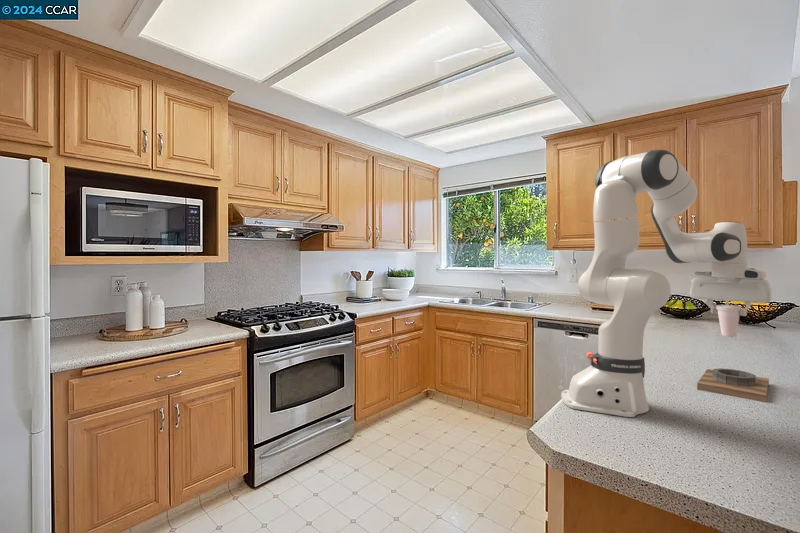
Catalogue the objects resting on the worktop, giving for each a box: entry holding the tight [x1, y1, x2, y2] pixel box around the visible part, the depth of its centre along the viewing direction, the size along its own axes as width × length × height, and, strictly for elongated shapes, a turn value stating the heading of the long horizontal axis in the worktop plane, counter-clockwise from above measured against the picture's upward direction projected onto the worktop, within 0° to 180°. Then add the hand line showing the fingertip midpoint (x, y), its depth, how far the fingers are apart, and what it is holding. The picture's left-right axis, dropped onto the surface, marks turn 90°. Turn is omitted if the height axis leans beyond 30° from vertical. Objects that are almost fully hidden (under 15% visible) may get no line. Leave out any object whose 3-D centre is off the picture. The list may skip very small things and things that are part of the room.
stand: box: [696, 368, 770, 403], centre depth 126 cm, size 22×16×4 cm
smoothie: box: [715, 300, 743, 338], centre depth 127 cm, size 6×6×14 cm
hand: (728, 314), depth 127 cm, fingers closed on smoothie, 6 cm apart
